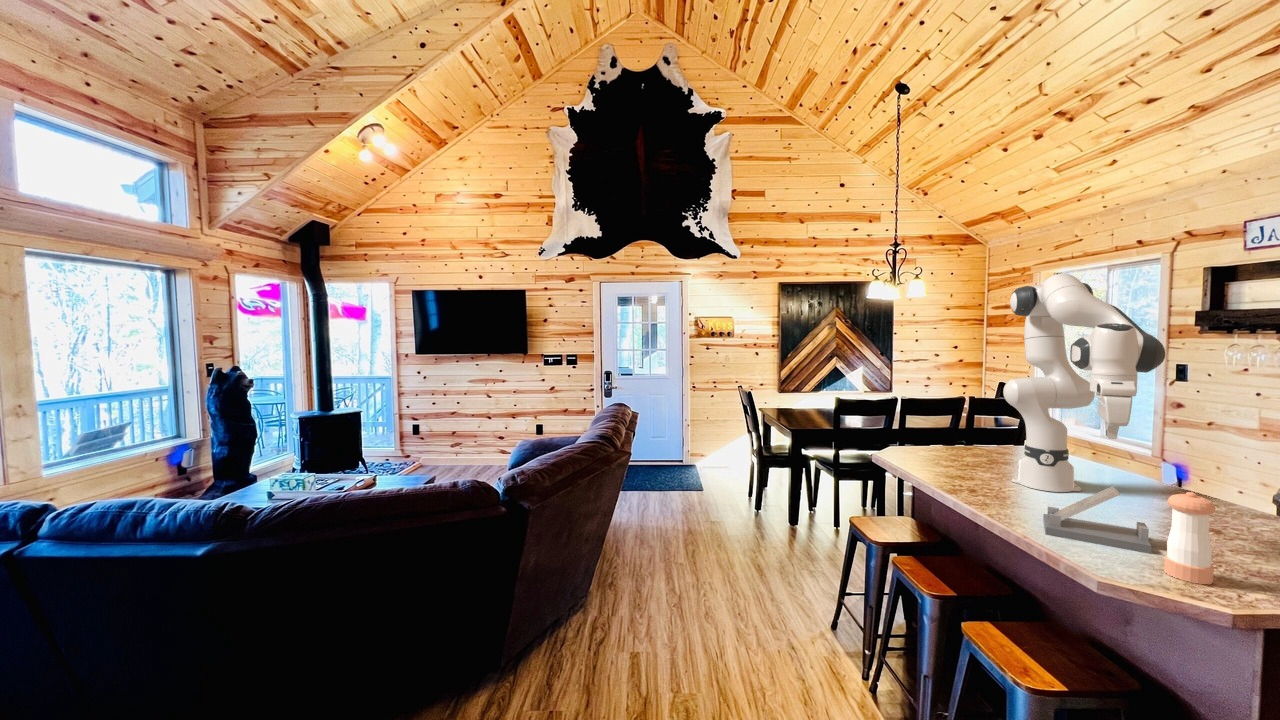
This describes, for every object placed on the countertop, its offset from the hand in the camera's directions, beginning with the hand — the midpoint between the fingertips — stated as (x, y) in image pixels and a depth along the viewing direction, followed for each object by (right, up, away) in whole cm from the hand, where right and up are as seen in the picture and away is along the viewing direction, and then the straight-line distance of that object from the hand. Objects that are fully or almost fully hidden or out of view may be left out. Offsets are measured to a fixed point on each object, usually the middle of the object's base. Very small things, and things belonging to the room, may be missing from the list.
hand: (1111, 437), depth 126 cm
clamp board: (-2, -27, +3) cm, 27 cm away
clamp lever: (-3, -20, +4) cm, 20 cm away
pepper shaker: (-1, -28, -19) cm, 34 cm away
